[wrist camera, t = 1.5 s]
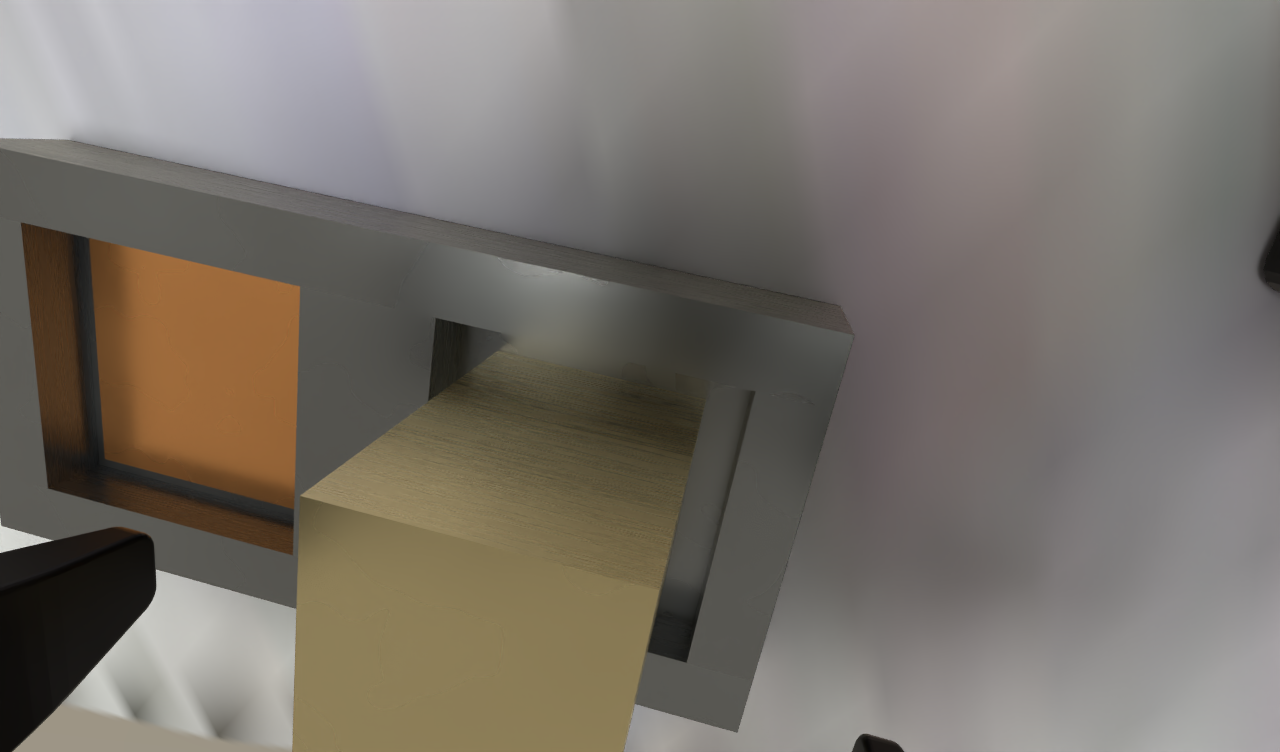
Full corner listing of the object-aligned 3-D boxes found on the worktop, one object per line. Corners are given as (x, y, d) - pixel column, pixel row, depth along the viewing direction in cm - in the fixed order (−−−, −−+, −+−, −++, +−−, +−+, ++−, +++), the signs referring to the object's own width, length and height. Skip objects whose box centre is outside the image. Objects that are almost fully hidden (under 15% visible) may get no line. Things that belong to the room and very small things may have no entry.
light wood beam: (706, 399, 13) (659, 590, 7) (663, 582, 14) (596, 865, 9) (497, 350, 13) (299, 496, 8) (475, 533, 15) (292, 772, 9)
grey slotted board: (840, 306, 13) (854, 334, 11) (740, 655, 16) (737, 732, 14) (66, 140, 15) (-49, 137, 13) (93, 480, 17) (1, 525, 15)
